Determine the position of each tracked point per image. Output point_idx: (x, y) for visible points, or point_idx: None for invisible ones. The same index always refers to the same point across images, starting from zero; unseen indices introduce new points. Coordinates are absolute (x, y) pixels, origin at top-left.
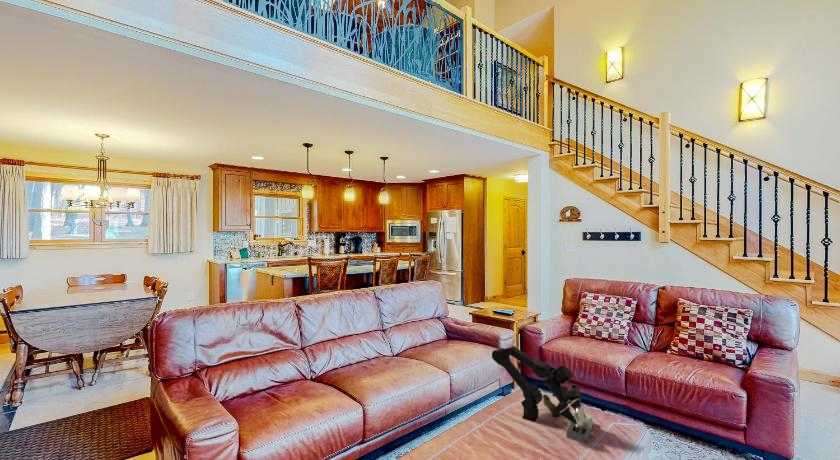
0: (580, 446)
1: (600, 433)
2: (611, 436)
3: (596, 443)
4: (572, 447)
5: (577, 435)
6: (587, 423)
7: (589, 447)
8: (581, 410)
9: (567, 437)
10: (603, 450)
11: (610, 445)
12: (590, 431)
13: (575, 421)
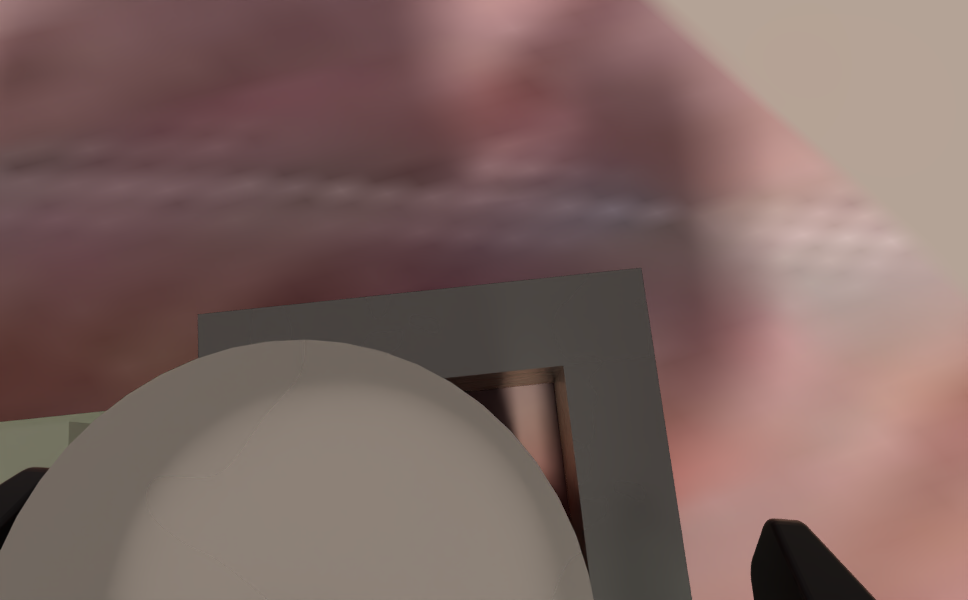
0: (794, 374)
1: (92, 238)
2: (89, 73)
3: (490, 193)
4: (942, 478)
5: (668, 485)
6: (74, 438)
7: (707, 243)
8: (499, 432)
9: None
10: (631, 51)
11: (399, 13)
12: (351, 299)
13: (845, 569)
